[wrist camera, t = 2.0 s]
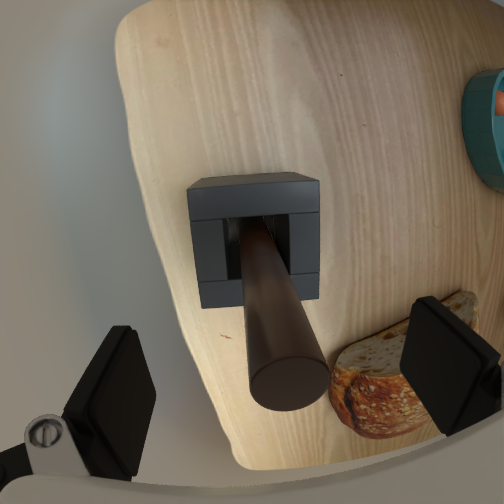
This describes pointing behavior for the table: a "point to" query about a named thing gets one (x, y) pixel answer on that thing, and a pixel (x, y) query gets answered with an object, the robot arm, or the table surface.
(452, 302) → the bread
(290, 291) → the stick
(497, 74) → the bowl
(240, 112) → the table surface
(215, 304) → the holder
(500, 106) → the bead
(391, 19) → the table surface
